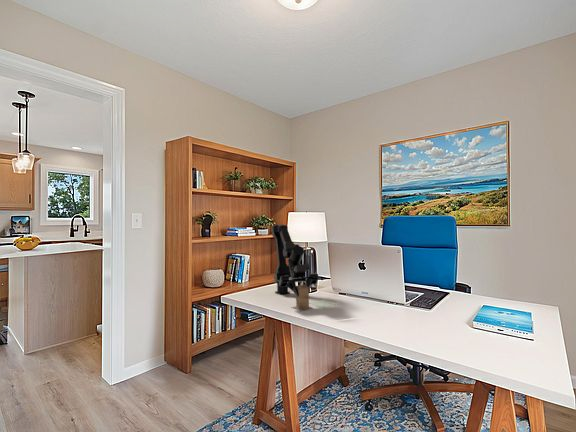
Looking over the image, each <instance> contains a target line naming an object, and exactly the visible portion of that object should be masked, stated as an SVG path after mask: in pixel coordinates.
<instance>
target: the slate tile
mask: <svg viewBox="0 0 576 432" xmlns="http://www.w3.org/2000/svg"><path fill="white" fill-rule="evenodd" d="M290 308H291V309H293V310H295V311H298V312H304V311H305V312H306V311H308V310H315V308H314V307H313V306H309V309H302V310H299V309H298V308H297V307H296V305H295V306H292V307H290Z"/></svg>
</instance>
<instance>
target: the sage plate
mask: <svg viewBox="0 0 576 432" xmlns="http://www.w3.org/2000/svg"><path fill="white" fill-rule="evenodd" d="M309 305H312V306H314V307H317V308H321V309H322V308H326V307H330V306H337V303H335V302H332V301H329V300H326V299H321V300H316V301H311V302H309Z"/></svg>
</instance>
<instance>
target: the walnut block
mask: <svg viewBox="0 0 576 432" xmlns="http://www.w3.org/2000/svg"><path fill="white" fill-rule="evenodd" d="M296 287H297V290H298V294H299V296H297V295H296V294H295V300H296V301H295V303H296V304H295V306H296V307H297V308H298V309H299V310H302V309H309V307H310V304H309V303H310V302H309V301H310V296H309V295H310V286H309V287H308V286H306V285H305V284H301V285H296Z"/></svg>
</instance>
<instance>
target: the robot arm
mask: <svg viewBox="0 0 576 432" xmlns="http://www.w3.org/2000/svg"><path fill="white" fill-rule="evenodd" d="M270 232H271V233H272V238H274V240H275V247H276V256H277V266H276V268H275V272H274V273H275V274H274V277H273V282H274V283H275V284H276V289H277V290H276V291H274V293H276V294H278V295H286V294H291V292H292V293H294V294H295V296H296V295H297V296H299V294H298V290H297V287H296V286H297V284H296V283H301V282H304V285H306V286H308V287H309V288H310V286H311V285H316V284H317V283H318V280H319V278H320V276H319V274H318V273H309V274H308V276H306V272H307V271H309V270H311V269H310V268H311V267H310V264H309V262H306V263H304V264H301V261H302V259H303V257H304V254H305V249H304V247H302V246H300V245H299V244H295V243H294V242H293V240H292V238H291V235H290V233H289V228H288V225H287V224H273V225H272V226H271V227H270ZM289 289H290V291H289Z"/></svg>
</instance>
